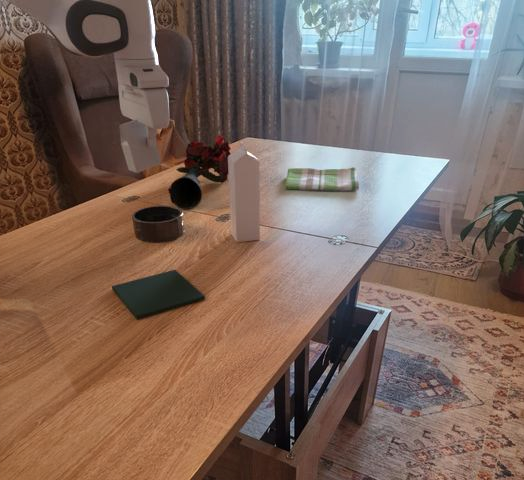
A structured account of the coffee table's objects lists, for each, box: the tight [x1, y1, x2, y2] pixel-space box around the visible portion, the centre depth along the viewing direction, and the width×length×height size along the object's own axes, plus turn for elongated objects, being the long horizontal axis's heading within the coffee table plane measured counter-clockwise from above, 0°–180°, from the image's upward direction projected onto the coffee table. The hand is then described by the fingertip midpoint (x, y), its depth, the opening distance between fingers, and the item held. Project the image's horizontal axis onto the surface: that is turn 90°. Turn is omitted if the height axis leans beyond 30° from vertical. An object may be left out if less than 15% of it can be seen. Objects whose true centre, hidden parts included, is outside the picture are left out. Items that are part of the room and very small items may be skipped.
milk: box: [228, 140, 261, 243], centre depth 114 cm, size 6×6×22 cm
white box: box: [118, 120, 162, 174], centre depth 108 cm, size 4×7×10 cm, turn 133°
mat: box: [111, 269, 206, 320], centre depth 96 cm, size 14×14×1 cm
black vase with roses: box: [168, 135, 232, 211], centre depth 148 cm, size 16×18×35 cm
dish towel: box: [284, 166, 360, 191], centre depth 156 cm, size 17×23×4 cm
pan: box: [131, 205, 185, 244], centre depth 121 cm, size 12×12×5 cm
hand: (146, 143), depth 109 cm, fingers closed on white box, 4 cm apart
